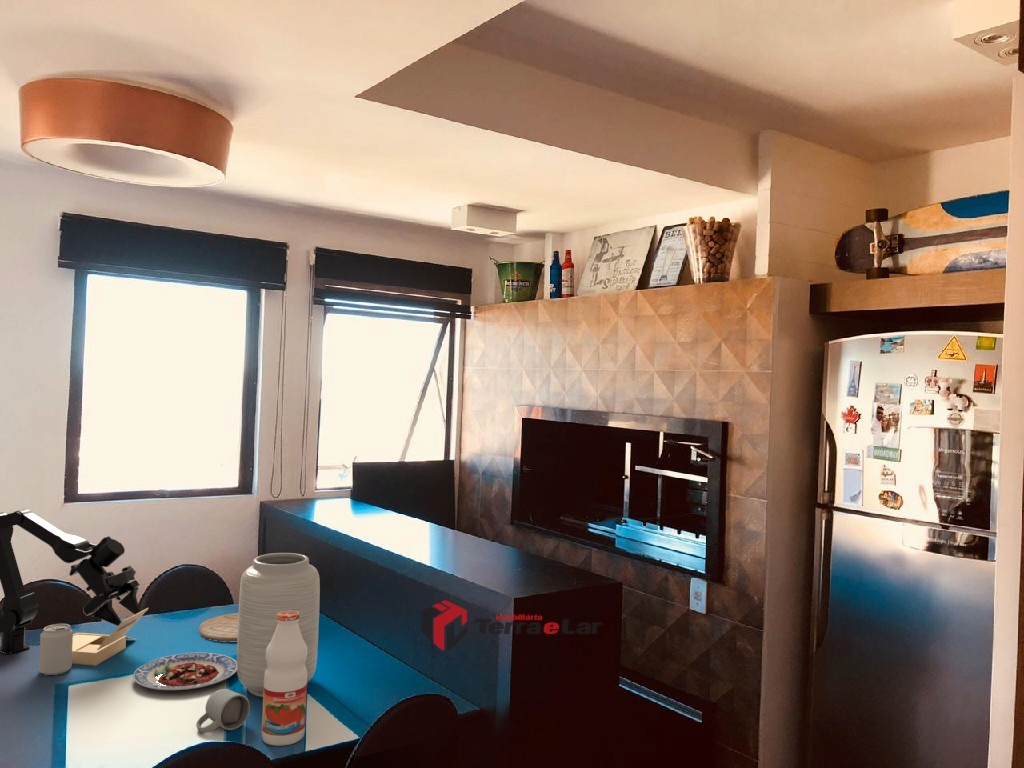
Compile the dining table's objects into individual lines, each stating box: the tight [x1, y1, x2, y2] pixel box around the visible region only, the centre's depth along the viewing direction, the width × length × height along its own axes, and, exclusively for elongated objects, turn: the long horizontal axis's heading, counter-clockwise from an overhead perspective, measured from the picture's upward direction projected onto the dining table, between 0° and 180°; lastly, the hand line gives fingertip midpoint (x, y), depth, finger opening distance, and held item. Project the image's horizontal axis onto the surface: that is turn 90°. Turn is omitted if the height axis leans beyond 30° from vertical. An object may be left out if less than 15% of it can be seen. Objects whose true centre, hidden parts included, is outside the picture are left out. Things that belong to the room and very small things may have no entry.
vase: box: [236, 552, 321, 698], centre depth 202 cm, size 20×20×34 cm
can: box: [38, 623, 74, 676], centre depth 206 cm, size 8×8×12 cm
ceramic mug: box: [195, 688, 251, 734], centre depth 178 cm, size 11×8×8 cm
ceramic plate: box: [132, 652, 237, 691], centre depth 206 cm, size 26×26×3 cm
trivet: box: [198, 612, 239, 642], centre depth 245 cm, size 25×25×2 cm
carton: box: [72, 632, 137, 667], centre depth 222 cm, size 15×21×4 cm
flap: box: [97, 607, 149, 650], centre depth 217 cm, size 1×12×11 cm
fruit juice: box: [261, 610, 308, 747], centre depth 174 cm, size 9×9×28 cm
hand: (130, 620), depth 217 cm, fingers open, 9 cm apart
